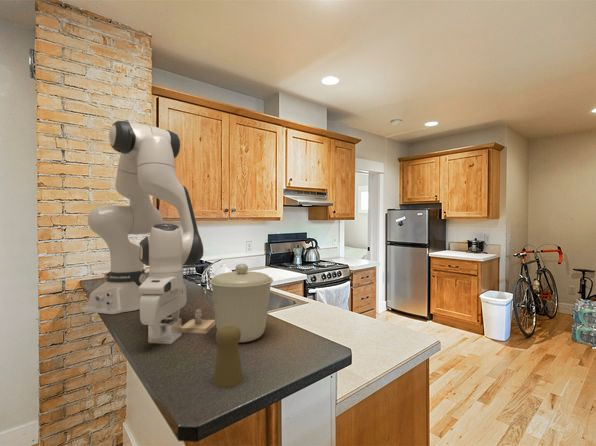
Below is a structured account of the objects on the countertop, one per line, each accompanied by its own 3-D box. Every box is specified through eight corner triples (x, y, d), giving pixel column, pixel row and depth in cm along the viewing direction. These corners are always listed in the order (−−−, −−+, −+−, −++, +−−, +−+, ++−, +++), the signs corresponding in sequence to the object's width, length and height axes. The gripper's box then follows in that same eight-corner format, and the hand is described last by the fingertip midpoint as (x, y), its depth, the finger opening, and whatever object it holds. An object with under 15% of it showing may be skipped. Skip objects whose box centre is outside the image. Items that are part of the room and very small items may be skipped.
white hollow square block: (148, 343, 84) (148, 324, 84) (160, 334, 91) (160, 317, 91) (171, 343, 84) (171, 325, 84) (181, 335, 90) (181, 318, 90)
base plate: (180, 332, 92) (180, 312, 92) (190, 323, 100) (191, 305, 100) (206, 333, 92) (206, 313, 92) (215, 324, 100) (215, 305, 100)
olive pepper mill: (232, 390, 61) (232, 334, 61) (207, 384, 63) (207, 330, 63) (248, 376, 66) (248, 325, 66) (224, 370, 69) (224, 321, 69)
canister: (198, 334, 91) (199, 262, 91) (251, 322, 102) (252, 258, 102) (227, 355, 77) (228, 270, 77) (285, 338, 88) (285, 264, 88)
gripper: (172, 275, 98) (172, 318, 98) (134, 288, 77) (134, 344, 77) (191, 275, 97) (191, 319, 97) (159, 289, 77) (159, 344, 77)
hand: (166, 330), depth 87 cm, fingers open, 8 cm apart
